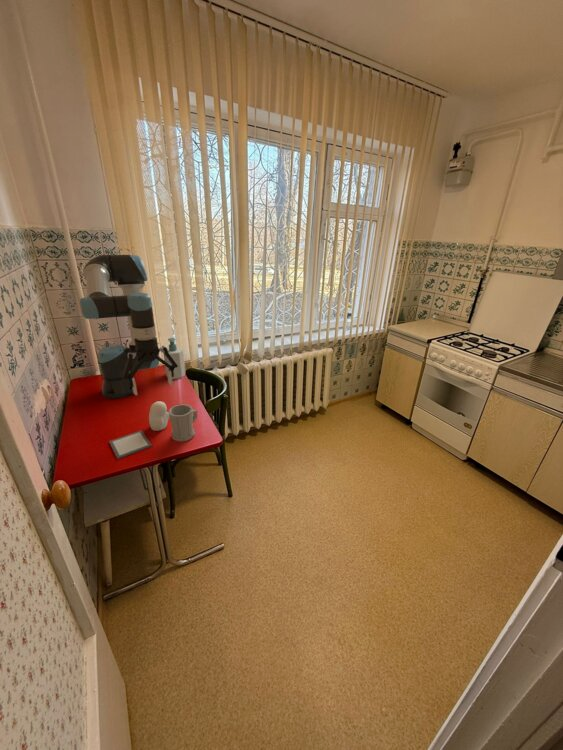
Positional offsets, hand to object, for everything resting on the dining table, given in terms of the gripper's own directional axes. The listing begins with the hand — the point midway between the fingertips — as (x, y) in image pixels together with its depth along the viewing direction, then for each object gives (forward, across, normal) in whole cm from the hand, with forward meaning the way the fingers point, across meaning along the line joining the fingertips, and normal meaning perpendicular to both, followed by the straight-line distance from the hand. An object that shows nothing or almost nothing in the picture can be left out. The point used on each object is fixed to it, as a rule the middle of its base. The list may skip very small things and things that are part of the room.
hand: (153, 389), depth 119 cm
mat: (+18, -13, -5) cm, 23 cm away
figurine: (+18, 0, 0) cm, 18 cm away
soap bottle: (+18, +25, +44) cm, 54 cm away
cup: (+18, +6, -11) cm, 22 cm away
